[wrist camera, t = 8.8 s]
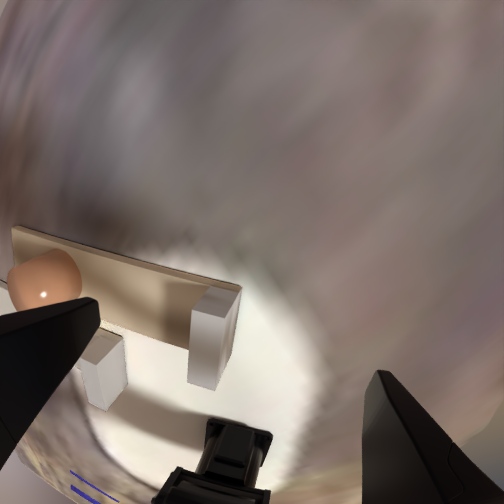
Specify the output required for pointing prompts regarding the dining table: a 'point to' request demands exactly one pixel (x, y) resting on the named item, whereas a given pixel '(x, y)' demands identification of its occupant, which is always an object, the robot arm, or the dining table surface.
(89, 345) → the grey strip
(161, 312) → the birch strip
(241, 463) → the robot arm
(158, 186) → the dining table surface
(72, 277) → the rounded peach dome
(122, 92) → the dining table surface
